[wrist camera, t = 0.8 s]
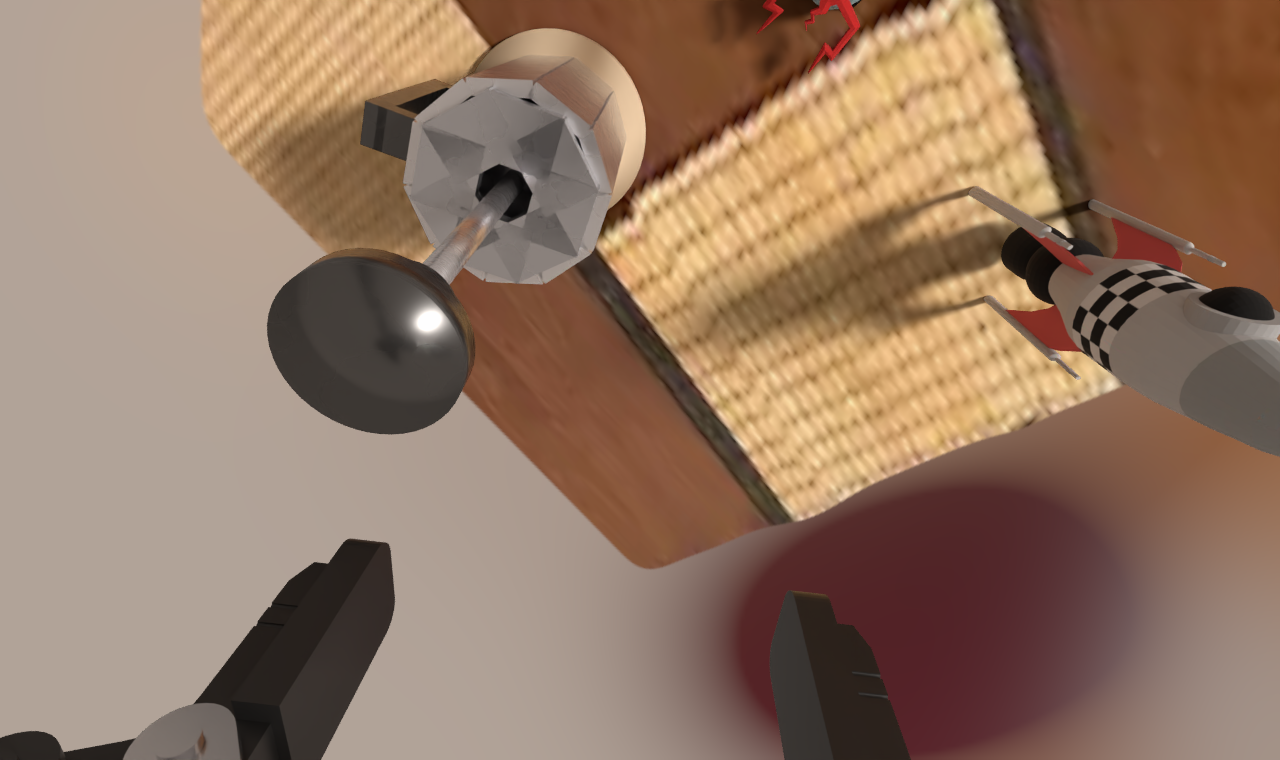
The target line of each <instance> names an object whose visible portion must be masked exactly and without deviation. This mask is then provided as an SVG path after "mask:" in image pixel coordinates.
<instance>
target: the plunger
mask: <svg viewBox="0 0 1280 760" xmlns="http://www.w3.org/2000/svg"><path fill="white" fill-rule="evenodd" d="M479 191H480V192H481V194H482V196H483V199H482V200H481V201H480V202H479V203H478V204H477V205H476V207H475V208H474V209H473V210H472V211H471V212H470V213H469V214H468V215H467V216H466V217H465V218H464V219H463V221H462V222H461V223H460V224H459V225H458V226H457V227H456V228H455V229H454V230H453V231H452V232H451V233H450V235H449V236H448V237H447V238H446V239H445V240H444V241H443V242H442V243H441V244H440V245H439V246H438V247H437V248H436V250H435V251H434V252H433V253H432V254H431V255H430V256H429V257H428V258H427V259H426V260H425V261H424V262H423V264H422V263H420V262H416V261H413V260H410V259H407V258H405V257H402V256H400V255H397V254H394V253H390V252H387V251H383V250H376V249H366V248H355V249H345V250H341V251H337V252H333V253H331V254H329V255H326V256H324V257H322V258H320V259H319V260H317V261H315V262H314V263H312V264H311V265H310V266H308V267H307V268H306V269H304V270H303V271H301V272H300V273H299V274H297V275H296V276H295V277H293V278H292V279H291V280H290V281H289V282H287V283H286V284H285V285H284V286H283V287H282V289H281V290H280V291H279V292H278V294H277V295H276V297H275V299H274V301H273V303H272V305H271V308H270V312H269V316H268V323H267V333H268V334H267V335H268V341H269V347H270V350H271V353H272V356H273V359H274V361H275V363H276V365H277V367H278V369H279V371H280V372H281V374H282V376H283V377H284V379H285V380H286V381H287V383H288V384H289V385H290V386H291V388H292V389H293V390H294V391H295V392H296V393H297V394H298V395H299V396H300V397H301V398H302V399H303V400H304V401H306V402H307V403H308V404H309V405H310V406H311V407H313V408H314V409H316V410H317V411H318V412H320V413H321V414H323V415H325V416H327V417H328V418H330V419H332V420H334V421H336V422H338V423H340V424H343V425H345V426H348V427H351V428H354V429H357V430H361V431H365V432H370V433H377V434H403V433H408V432H413V431H417V430H420V429H423V428H425V427H427V426H429V425H432V424H433V423H435V422H436V421H438V420H439V419H441V418H442V417H443V416H444V415H445V414H447V413H448V412H449V410H450V409H451V408H452V407H453V405H454V404H455V402H456V401H457V399H458V397H459V395H460V393H461V391H462V389H463V387H464V385H465V383H466V382H467V380H468V378H469V376H470V374H471V371H472V368H473V365H474V359H475V339H474V333H473V329H472V326H471V323H470V320H469V318H468V316H467V313H466V311H465V310H464V308H463V306H462V304H461V303H460V301H459V300H458V299H457V297H456V296H455V295H454V292H453V290H452V289H451V287H450V283H451V282H452V281H453V280H454V278H455V277H456V276H457V274H458V273H459V272H460V270H461V269H462V268H463V266H464V265H465V264H466V262H467V261H468V260H469V259H470V257H471V256H472V255H473V253H474V252H475V251H476V249H477V248H478V247H479V245H480V244H481V243H482V241H483V240H484V239H485V237H486V236H487V235H488V234H489V232H490V231H491V230H492V228H493V227H494V226H495V224H496V223H497V222H498V220H499V219H500V218H501V216H502V215H505V216H508V217H511V218H512V217H514V216H516V215H518V214H521V213H523V212H525V211H527V210H528V208H529V204H530V201H531V197H532V191H531V189H530V188H529V186H528V184H527V182H526V180H525V178H524V177H523V175H522V173H521V172H520V171H517V170H514V169H512V168H509V167H506V166H504V165H501V164H498V165H496V166H494V167H492V168H490V169H488V170H486V171H484V172H483V176H482V180H481V185H480V189H479Z"/></svg>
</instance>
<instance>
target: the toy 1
mask: <svg viewBox="0 0 1280 760" xmlns="http://www.w3.org/2000/svg"><path fill="white" fill-rule="evenodd" d="M860 1H861V0H813V2H814V3H815V4H817V5H819V7H817V8H814V9H812V10H810V15H811V19H809V20H806V21H805V27H806V31H807V24H812V23H814V22H815V19H814V15H821V14H826V13H827V11H828V10H832V9H839V10H840V11H841V13H842V15H843V17H844V18H845V20H846V22H847V24H848V25H849V27H850V28H849V29H848V30H847V31H846V33H845V34H844V35H843V37H842V38H841V39H840V41H839V42H838V43H837V45H836V46H835V47H834V49H832V48H831V47H830V46H829V45H827V44H826V43H824V45H823V46H822V48H821V50H820V52H819V53H818V55H817V57H816V59H815V60H814V62H813V64H812V66H811V67H810V69H809V71H808V73H809V72H810V71H811V70H812V69H813V67H814V66H815V65H816V64H817V63H818V61H819V60H820V59H821V58H822V57H823V55H824V54H826V55H827V56H828V57H829V59H830V60H831V61H832V60H833V59H834V58H835V56H836V55H837V54H838V53H839V51H840V50H841V49H842V48H843V47H844V45H845V44H846V43H847V42H848V41H849V39H850V38H851V37H852V36H853V35H854V33H855V32H856V31H857V30H858V29H859V27H860V23H859V21H858V19H857V17H856V14H855V12H854V10H853V7H854V6H856V5H857V4H858V3H859V2H860ZM775 2H776V0H766V2H765V3H764V4H763V8H765V9H767V10H769V11H771V12H773V13H772V14H771V16H770V17H769V18H768V19H767V20H766V22H765V23H764V24H763V25H762V27H761V28H760V29H759V30H758V32H757V34H758V33H759V32H760V31H761V30H763V29H764V28H765V27H766V26H767V25H768V24H770V23H771V22H772V21H773V20H774V19H775V18H777V17H778V16H779V15H780V14H781V13H782V12H783V11H784V10H783V9H782V8H781V7H779V6H778V5H776V4H775ZM757 34H756V35H757Z"/></svg>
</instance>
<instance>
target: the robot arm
mask: <svg viewBox="0 0 1280 760" xmlns="http://www.w3.org/2000/svg"><path fill="white" fill-rule="evenodd" d="M394 605H395V595H394V584H393V573H392V562H391V551H390V547H389V544H387V543H383V542H375V541H367V540H358V539H347V540H346V541H345V542H344V543H343V544H342V545H341V547H340V548H339V549H338V551H337V552H336V553H335V555H334V556H333V558H332V559H331V560H330V562H329V563H328V564H326V563H317V562H314V563H313V564H311V565H310V566H309V567H307V568H306V569H304V570H303V571H302V572H300V573H299V574H298V575H296V576H295V577H293V578H292V579H291V580H289V581H288V582H287V584H286V585H285V586H284V588H283V589H282V590H281V592H280V593H279V594H278V595H277V597H276V598H275V600H274V601H273V602H272V606H271V607H268V609H267V610H266V611H265V612H264V614H263V615H262V616H261V618H260V619H259V620H258V623H257V626H254V627H253V628H252V630H251V631H250V632H249V633H248V635H247V636H246V637H245V639H244V640H243V641H242V643H241V644H240V645H239V646H238V648H237V649H236V650H235V652H234V653H233V654H232V655H231V657H230V658H229V659H228V661H227V662H226V663H225V665H224V666H223V667H222V668H221V670H220V671H219V672H218V674H217V675H216V676H215V678H214V679H213V680H212V681H211V683H210V684H209V686H208V687H207V688H206V689H205V691H204V692H203V693H202V694H201V696H200V697H199V698H198V699H197V700H196V702H195V703H194V704H193V705H188V706H185V707H182V708H179V709H177V710H175V711H172V712H170V713H168V714H166V715H165V716H163V717H161V718H159V719H158V720H156V721H155V722H154V723H152V724H151V725H150V726H148V727H147V728H146V729H145V730H144V731H142V733H141V734H140V735H139V736H138V737H137V738H135V739H131V740H127V741H122V742H117V743H111V744H106V745H101V746H95V747H90V748H84V749H79V750H73V751H68V752H63V750H62V749H61V746H60V744H59V742H58V741H57V739H56V738H55V737H53V736H52V735H50V734H48V733H45V732H39V731H28V732H21V733H15V734H12V735H8V736H5V737H2V738H0V760H321V758H322V757H323V755H324V753H325V751H326V749H327V747H328V745H329V743H330V741H331V739H332V737H333V735H334V733H335V731H336V729H337V728H338V726H339V724H340V722H341V720H342V718H343V716H344V714H345V712H346V710H347V708H348V706H349V704H350V702H351V701H352V699H353V697H354V695H355V693H356V691H357V689H358V687H359V685H360V683H361V681H362V679H363V677H364V675H365V673H366V671H367V670H368V668H369V666H370V664H371V662H372V660H373V658H374V656H375V654H376V652H377V650H378V648H379V646H380V644H381V643H382V641H383V639H384V637H385V635H386V633H387V631H388V628H389V626H390V623H391V620H392V616H393V611H394ZM770 675H771V682H772V688H773V693H774V699H775V705H776V711H777V717H778V723H779V729H780V735H781V741H782V747H783V752H784V758H785V760H911V759H910V756H909V753H908V750H907V747H906V745H905V742H904V739H903V736H902V733H901V730H900V728H899V725H898V722H897V719H896V716H895V714H894V711H893V708H892V705H891V703H890V701H889V700H888V694H887V691H886V688H885V686H884V683H883V680H882V679H880V672H879V669H878V666H877V663H876V660H875V658H874V655H873V652H872V649H871V648H870V646H869V645H868V644H867V643H866V641H865V640H864V639H863V637H862V636H861V635H860V634H859V632H858V631H857V630H856V629H855V627H854V626H852V625H844V624H837V622H836V619H835V615H834V612H833V609H832V606H831V603H830V600H829V598H828V597H827V595H824V594H815V593H807V592H798V591H788V592H787V594H786V595H785V599H784V602H783V605H782V609H781V612H780V616H779V619H778V623H777V627H776V630H775V633H774V637H773V640H772V644H771V652H770Z"/></svg>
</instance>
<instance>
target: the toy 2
mask: <svg viewBox="0 0 1280 760" xmlns="http://www.w3.org/2000/svg"><path fill="white" fill-rule="evenodd" d="M968 194H969V195H970V196H971V197H973V198H975V199H976V200H978V201H979V202H981V203H983V204H984V205H986V206H988V207H989V208H991V209H993V210H994V211H996V212H998V213H999V214H1001V215H1003V216H1004V217H1006V218H1007V219H1009V220H1011V221H1012V222H1014V223H1016V224H1017V225H1019V226H1021V227H1020V228H1018V229H1017V230H1015V231H1014V232H1013V233H1012V234H1011V235H1010V236H1009V237H1008V238H1007V240H1006V241H1005V243H1004V245H1003V247H1002V251H1001V258H1002V262H1003V264H1004V265H1005V266H1006V268H1008V269H1009V270H1010V271H1012V272H1013V273H1014V274H1016V275H1017V276H1019V277H1020V278H1022V279H1025V280H1026V282H1027V285H1028V287H1029V289H1030V291H1031V292H1032V293H1033V294H1034V295H1035V296H1036V297H1037V298H1039V299H1040V300H1042V301H1044V302H1046V303H1049V304H1053V305H1054V306H1052V307H1051V308H1048V309H1043V310H1037V311H1032V312H1029V311H1016V310H1008V309H1006V308H1005V307H1004V306H1003V305H1002V304H1001V303H999V302H998V301H997V300H996V299H995V298H994V297H992V296H986V297H984V301H985V302H986V303H988V304H989V305H990V306H991V307H992V308H993V309H994V310H995V311H996V312H997V313H999V314H1000V315H1001V316H1002V317H1003V318H1004V319H1005V320H1006V321H1007V322H1009V323H1010V324H1011V325H1012V326H1013V327H1014V328H1015V329H1016V330H1017V331H1019V332H1020V333H1021V334H1022V335H1023V336H1024V337H1025V338H1026V339H1027V340H1028V341H1030V342H1031V343H1032V344H1033V345H1034V346H1035V347H1036V348H1037V349H1038V350H1040V351H1041V352H1042V353H1043V354H1044V355H1045V356H1046V357H1047V358H1048V359H1049V360H1051V361H1056V362H1057V363H1058V364H1059V365H1061V366H1062V367H1063V368H1064V369H1065V370H1066V371H1067V372H1068V373H1069V374H1071V375H1072V376H1073V377H1074V378H1075V379H1077V380H1078V379H1081V377H1080V376H1079V375H1077V374H1076V373H1075V371H1073V370H1072V369H1071V368H1069V366H1067V365H1066V364H1065V363H1064V362H1063V361H1062V360H1061V356H1060V355H1059V354H1058V353H1057V352H1056V351H1055V350H1058V351H1077V352H1083V353H1084V354H1086V355H1087V356H1088V357H1090V358H1091V359H1092V360H1094V361H1095V362H1096V363H1098V364H1099V365H1100V366H1102V367H1103V368H1104V369H1106V370H1107V371H1108V372H1110V373H1111V374H1112V375H1114V376H1115V377H1116V378H1118V379H1119V380H1121V381H1122V382H1124V383H1125V384H1127V385H1128V386H1130V387H1131V388H1133V389H1134V390H1136V391H1137V392H1139V393H1141V394H1142V395H1144V396H1146V397H1147V398H1149V399H1151V400H1152V401H1154V402H1156V403H1158V404H1160V405H1163V406H1165V407H1167V408H1169V409H1171V410H1173V411H1175V412H1177V413H1180V414H1182V415H1184V416H1186V417H1189V418H1191V419H1193V420H1195V421H1197V422H1199V423H1201V424H1203V425H1205V426H1207V427H1209V428H1211V429H1213V430H1215V431H1217V432H1220V433H1222V434H1225V435H1227V436H1229V437H1232V438H1234V439H1236V440H1238V441H1241V442H1243V443H1245V444H1247V445H1249V446H1251V447H1254V448H1256V449H1258V450H1261V451H1263V452H1266V453H1269V454H1273V455H1276V456H1280V342H1279V341H1278V340H1277V337H1278V335H1279V334H1280V312H1278V311H1276V310H1274V309H1273V307H1272V305H1271V304H1270V302H1269V301H1268V300H1267V299H1266V298H1265V297H1264V296H1263V295H1261V294H1260V293H1258V292H1256V291H1254V290H1251V289H1248V288H1242V287H1224V288H1219V289H1215V290H1211V289H1209V288H1207V287H1205V286H1204V285H1202V284H1200V283H1198V282H1196V281H1195V280H1193V279H1191V278H1189V277H1188V276H1186V275H1184V274H1182V273H1181V269H1182V261H1181V259H1180V257H1179V255H1178V253H1177V251H1176V250H1175V249H1177V250H1179V251H1181V252H1183V253H1185V254H1191V253H1193V254H1196V255H1198V256H1200V257H1202V258H1204V259H1207V260H1208V261H1210V262H1212V263H1216V264H1218V265H1220V266H1222V267H1225V266H1226V262H1224V261H1221V260H1219V259H1217V258H1216V257H1214V256H1212V255H1208V254H1207V253H1205V252H1202V251H1200V250H1198V249H1196V248H1194V245H1193V244H1192V243H1191V242H1188V241H1186V240H1184V239H1182V238H1179V237H1177V236H1175V235H1173V234H1170V233H1168V232H1166V231H1164V230H1161V229H1159V228H1157V227H1155V226H1152V225H1150V224H1148V223H1146V222H1143V221H1141V220H1139V219H1136V218H1134V217H1132V216H1130V215H1127V214H1125V213H1123V212H1121V211H1118V210H1116V209H1114V208H1112V207H1109V206H1107V205H1105V204H1103V203H1100V202H1098V201H1096V200H1093V199H1092V200H1090V201H1089V204H1088V206H1089V208H1090V209H1091V210H1093V211H1096V212H1098V213H1100V214H1102V215H1104V216H1106V217H1108V218H1111V219H1112V222H1113V225H1114V229H1115V232H1116V235H1117V238H1118V250H1117V252H1116V254H1115V255H1114V257H1113V258H1112V259H1111V258H1106V257H1104V256H1103V254H1102V253H1101V251H1100V250H1099V249H1098V248H1097V247H1096V246H1094V245H1093V244H1092V243H1090V242H1087V241H1085V240H1082V239H1078V238H1066V236H1065V235H1063V234H1062V233H1061V232H1059V231H1058V230H1056V229H1055V228H1053V227H1051V226H1049V225H1047V224H1045V223H1042V222H1040V221H1038V220H1036V219H1035V218H1033V217H1031V216H1029V215H1028V214H1026V213H1024V212H1022V211H1020V210H1019V209H1017V208H1015V207H1013V206H1012V205H1010V204H1008V203H1006V202H1004V201H1003V200H1001V199H999V198H997V197H996V196H994V195H992V194H990V193H989V192H987V191H985V190H983V189H981V188H980V187H978V186H976V187H973V188H972V189H971V190H970V191H969V193H968Z"/></svg>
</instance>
